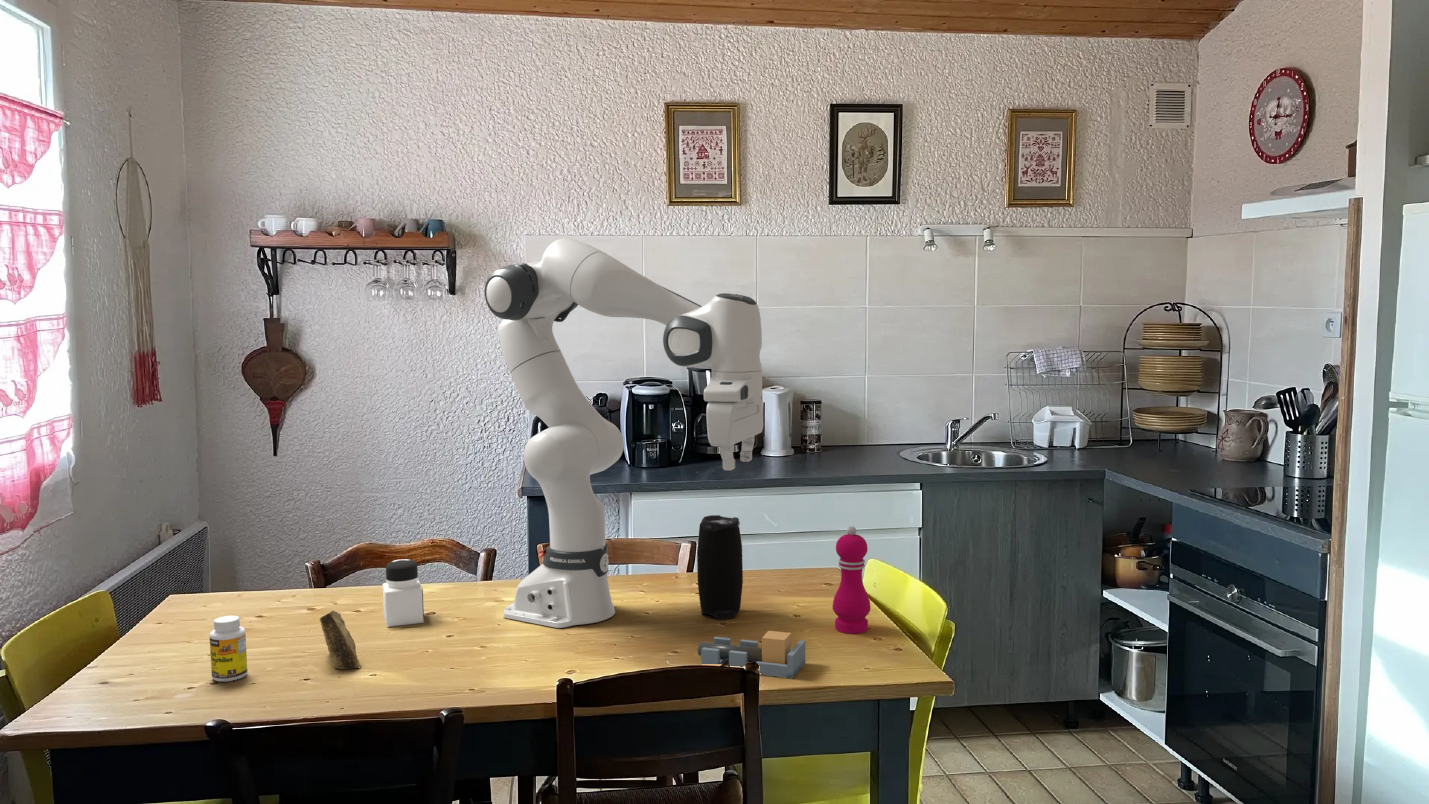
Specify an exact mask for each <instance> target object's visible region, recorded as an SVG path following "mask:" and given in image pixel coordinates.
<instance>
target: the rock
mask: <svg viewBox="0 0 1429 804" xmlns="http://www.w3.org/2000/svg"><path fill="white" fill-rule="evenodd" d="M319 621H320V625H321V628H322V632H323V636H324V640H325V643H326V646H327V650H328V653H329V655H330V656H331V661H332V663H333V667H334V669H340V670H352V669H351V668H359V667H361V665H360V661H359V659H358V655H357V651H356V650H357V649H356V643H355V641H354V639H353V638H352V635H351V633H350V630H349V629H348V628H347V627H346V622H345V620H344V619H343V617H342V615H341V613H338V612H337V611H335V610H331V611H330V612H328V613H326V614H324V615H323V616H321V617H320V618H319ZM361 668H362V667H361ZM359 669H360V668H359Z"/></svg>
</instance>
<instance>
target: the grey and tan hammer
mask: <svg viewBox="0 0 1429 804" xmlns="http://www.w3.org/2000/svg"><path fill="white" fill-rule="evenodd" d="M703 647H705V648H714V649H720V658H727V659H728V660H729V652H730V651H731V650H733V651H742V652H747V661H753V662H755V663H756V662H757V661H759V662H768V663H777V664H785V665H787V655H788V654H789V652H790V651H791V650H792V632H786V631H785V632H784V631H776V630H775V631H774V630H767V632H766V633H765V634H764V635H763V636H762V637H761V647H758V648H756V647H747V646H740V645H737V644H731V645H729V644H719V643H713V642H709V641H708V642H707V641H700V642H699V643H698V647H697V653H698V656H700V657H702V650H701V649H702V648H703Z"/></svg>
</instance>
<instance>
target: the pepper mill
mask: <svg viewBox="0 0 1429 804" xmlns="http://www.w3.org/2000/svg"><path fill="white" fill-rule="evenodd" d="M846 532H847V533H846V534H844V535H842V536H840V537H839V538H838V540H837V541H836V543H835V552H836V554H837V556H838V557H839V559H838V568H840V583H839V585H838V588H837V591H836V593H835V595H834V598H833V600H832V610H833V612H834V614H835V615H836V616H837V617H836V618H835V620H834V628H835V630H836V631H838V632H839V633H842V632H843V633H844V634H851V635H852V634H853V635H854V634H855V635H856V634H857V635H858V634H863V633H865V632H867V631H868V629H869V620H868V618H866V617H867V616H868V615H869V614H870V612H871V609H872V608H871V607H872V606H871V601H870V597H869V595H868V593H867V590H866V588H865V585H864V582H863V575H862V574H863V569H865V567H866V566H865V565H866V564H865V562H866V559H864V557H866V555H867V554H868V548H869V547H868V543H867V541H866V539H865V538H864V537H863V536H861V535H859V534H856V533H857V529H856V527H855V526H852V525H850V526H848V527H847V529H846Z"/></svg>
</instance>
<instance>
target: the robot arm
mask: <svg viewBox="0 0 1429 804" xmlns="http://www.w3.org/2000/svg"><path fill="white" fill-rule="evenodd" d="M484 299H485V303H486V305H487V307H488V309H489V310H490V312H491V313H492V315H494V316H495V317H497V318H499V319H502V321H501V322H500V325H499V326H498V330H497V334H498V339H499V345H500V349H501V351H502V354H503V358H504V361H505V364H506V366H507V368H508V371H509V374H510V376H511V378H512V380H513V383H514V384H515V387H516V389H517V391H518V394H519V396H520V398H521V400H522V403H523V405H524V407H525V408H526V410H527V411H529V413H531V414H533V415H534V416H536V417H538V418H539V419H540V420H541V421H543V423H544V424H545V425H546V426H547V427H548V428H546V429H544V430H542V431H540V432H538V433H536V434H535V435H533V436H532V437H531V438H529V440H528V441H527V442H526V443H525V444H526V445H525V447H524V449H523V461H524V462H523V463H524V466H525V468H526V470H527V472H528V473H529V475H530V476H531V477H532V478H533V479H534V480H535V481H536V482H538V484H539V486H540V488H541V491H542V492H543V495H544V498H545V502H546V506H547V512H548V523H549V525H548V527H549V545H548V546H546V547H545V548H542V550H540V551H538V553H537V554H539V555H538V558H539V559H540V558H542V557H543V561H542V564H541V565H539V566H538V567H537V568H535V569H534V570H533V571H532V572H531V573H529V574H528V575H527V576H526V577H524V578H523V579H522V580H521V581H520V582H519V583H518V585H517V586H516V590H515V595H514V602H511V603H510V604H508V605H507V606H506V607H505V608H504V610H503V618H505V619H511V620H515V621H520V622H524V623H525V622H526V623H530V624H535V625H542V626H546V627H552V628H555V629H556V628H557V629H562V628H568V627H572V626H577V625H587V624H594V623H600V622H601V621H605V620H606V621H607V620H608V619H610V618H611V617H614V615H615V613H616V609H615V607H614V603H613V600H612V596H611V591H610V586H609V585H610V584H609V578H608V572H609V551H608V544H607V542H606V515H605V514H606V509H605V506H604V505H603V502H601V500H599V498H596V495H595V492H594V491H593V488H592V484H591V483H592V482H591V475H594V474H597V473H600V472H603V471H605V470H607V469H608V468H610V467H612V466H613V465H614V464H615V463H617V462H618V461H619V460H620V458H621V456H622V454H623V451H624V438H623V435H622V432H621V431H620V429H619V428H618V427H617V426H616V425H615V424H614V423H612V422H611V421H609V420H608V419H606V418H604V417H603V416H602V415H601V414H600V412H598V411H597V410H596V408H595V407H594V406H593V405H592V403H591V402H590V400H589V399H587V397H586V396H585V394H584V393H583V392H582V390H581V389H580V387H579V386H578V384H577V381H575V378H574V376H573V374H572V372H571V370H570V367H569V365H568V363H567V361H566V359H565V356H564V355H563V353H562V350H561V349H560V347H559V344H558V343H557V340H556V337H555V335H554V333H553V326H554V322H556V323H562V322H564V321H565V320H566V319H567V318H568V315H570V313H571V312H572V311H573V310H575V309H576V308H577V307H578V306H580V307H582V308H583V309H584V310H587V311H589V312H592V313H593V314H594V313H595V314H597V315H600V316H604V317H609V318H629V319H630V318H632V319H644V320H650V321H655V322H657V323H660V324H662V325H665V328H664V331H663V337H662V343H663V348H664V352H665V353H666V356H667V358H668V359H669V360H670V361H671V362H672V363H673V364H674V365H676V366H679V367H683V368H697V367H708V366H710V367H711V377H710V381H709V383H708V384H707V385H706V387H705V388H704V389H703V400H704V402H707V405H706V428H707V429H706V430H707V432H706V433H707V439H708V442H709V445H710V446H711V447H718V448H719V453H720V456H721V460H722V469H723V470H724V471H733V470H734V469H735V468H736V459H735V458H734V450H735V449H734V448H735V447H734V446H735V445H736V444H738V443H740V442H741V450H740V452H739V455H740V456H739V460H740V461H741V462H743V463H748V462H751V461H752V459H753V449H754V445H755V436H758V435H759V434H761V433H762V432H763V429H764V410H763V409H764V407H763V399H762V396H763V366H762V363H761V357H760V356H761V351H762V347H763V341H762V340H763V338H762V337H763V336H762V335H763V333H762V321H761V320H762V319H761V313H760V309H759V305H758V303H757V301H756V300H755V299H753V298H752V297H750V296H746V295H743V294H734V293H724V292H723V293H719V294H716V295H714V296H713V297H712V298H711V299H710V301H709V302H707V303H705V304H704V305H700V304H699V303H697V302H694V301H692V300H691V299H688V298H686V297H685V296H682V295H680V294H679V293H676V292H674V291H672V290H670V289H668V288H666V287H664V286H662V285H660V284H658V283H656V282H655V281H653V280H651V279H650V278H648V277H646V276H645V275H642V274H641V273H639V272H638V271H635V270H634V269H632V268H631V267H629V265H626V264H625V263H623V262H621V261H619V260H617V258H615V257H613V256H612V255H609V254H607V253H606V252H604V251H603V250H600V249H599V248H596V247H594V246H592V245H590V244H587V243H585V242H583V241H579V240H575V239H572V238H568V237H567V238H565V237H564V238H559V239H557V240H554V241H552V242H551V244H549V245H548V246H547V247H546V249H545V251H544V252H543V254H542V257H541V260H535V261H530V262H526V263H525V262H522V263H516V264H514V263H513V264H509V265H506V266H502V267H500V268H498V269H496V270H493V272H491V274H489V275H488V277H487V279H486V281H485V285H484Z"/></svg>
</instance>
